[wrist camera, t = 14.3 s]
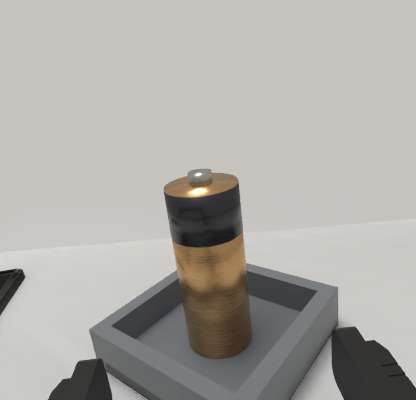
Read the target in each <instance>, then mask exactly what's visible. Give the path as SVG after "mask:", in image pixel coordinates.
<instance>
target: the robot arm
mask: <svg viewBox="0 0 416 400" xmlns="http://www.w3.org/2000/svg"><path fill="white" fill-rule="evenodd" d="M332 369H333V374H334V378H335V381H336V383H337V386H338V388H339V390H340V392H341V394H342V396H343V398H344V400H416V388H415V386H414V385H413V384H412V382H411V381H410V380H409V378H408V377H407V376H406V375H405V373H404V371H403V370H402V369H401V367H400V366H398V364H397V362H396V360H395V359H394V358H393V356H392V355H391V353H390V352H389V351H388V350H387V349H386V348H384V347H383V346H382V345H380V344H379V343H377V342H376V341H375V340H372V341H365V340H364V338H363V337H362V335H361V334H360V332H359V331H358V329H357V328H356V327H346V328H338V329H333V330H332ZM48 400H112V393H111V389H110V385H109V381H108V377H107V373H106V370H105V366H104V362H103V360H102V359H101V358H98V359H90V360H83V361H79V362H78V363H77V365H76V367H75V370H74V372H73V375H72V377H71V378H69V379H63V380H62V381H61V382H60V383H59V384H58V386H57V387H56V388H55V389H54V390H53V391H52V392H51V394H50V397H49V399H48Z"/></svg>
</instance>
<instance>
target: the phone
mask: <svg viewBox="0 0 416 400" xmlns="http://www.w3.org/2000/svg"><path fill="white" fill-rule="evenodd" d="M24 278H25V276H24V273H23V270H22V269H12V270H6V271H0V314H1V313H2V311H3V310H4V308H5V307H6V305H7V304H8V302H9V301H10V299H11V298H12V296H13V295H14V293H15V292H16V290H17V289H18V287H19V286H20V284H21V283H22V281H23V280H24Z"/></svg>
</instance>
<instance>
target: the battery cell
mask: <svg viewBox="0 0 416 400" xmlns="http://www.w3.org/2000/svg"><path fill="white" fill-rule="evenodd" d="M164 195H165V201H166V207H167V213H168V219H169V225H170V231H171V237H172V242H173V248H174V254H175V260H176V266H177V272H178V278H179V284H180V290H181V296H182V302H183V308H184V314H185V321H186V327H187V333H188V339H189V344H190V347H191V348H192V350H193V351H194V352H195V353H197V354H198V355H200V356H202V357H205V358H209V359H226V358H230V357H233V356H236V355H238V354H240V353H241V352H243V351H244V350H245V349H246V348H247V347H248V346H249V344H250V343H251V340H252V324H251V313H250V303H249V292H248V281H247V271H246V260H245V250H244V239H243V225H242V216H241V206H240V205H241V204H240V193H239V183H238V179H237V177H235V176H233V175H230V174H224V173H211V170H210V169H197V170H192V171H190V172H188V176H187V177H183V178H179V179H176V180H174V181H172V182H170V183H168V184H167V185H166V186H165V187H164Z"/></svg>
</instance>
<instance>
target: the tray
mask: <svg viewBox="0 0 416 400" xmlns="http://www.w3.org/2000/svg"><path fill="white" fill-rule="evenodd" d="M246 271H247V281H248V292H249V303H250V313H251V324H252V340H251V343H250V344H249V346H248V347H247V348H246V349H245V350H244V351H243V352H241V353H240V354H238V355H236V356H233V357H230V358H226V359H209V358H205V357H202V356H200V355H198V354H197V353H195V352H194V351H193V350H192V348H191V347H190V344H189V339H188V333H187V327H186V321H185V314H184V308H183V302H182V296H181V290H180V284H179V278H178V272H177V270H176V271H175V272H173V273H172V274H170V275H169V276H167V277H166V278H164V279H163V280H162V281H160V282H159V283H157V284H156V285H154V286H153V287H151V288H150V289H148V290H147V291H145V292H144V293H142V294H141V295H139V296H138V297H136V298H135V299H133V300H132V301H130V302H129V303H128V304H126V305H125V306H123V307H122V308H120V309H119V310H117V311H116V312H114V313H113V314H111V315H110V316H108V317H107V318H105V319H104V320H102V321H101V322H99V323H98V324H97V325H95V326H94V327H92V328H91V329H89V331H90V335H91V339H92V342H93V346H94V350H95V353H96V357H97V359H98V358H101V359H102V360H103V362H104V366H105V370H106V371H107V372H109V373H110V374H112V375H113V376H115V377H116V378H118V379H119V380H121V381H122V382H124V383H125V384H126V385H128V386H129V387H131V388H132V389H134V390H135V391H137V392H138V393H140V394H141V395H143V396H144V397H146V398H147V399H149V400H289V399H290V398H291V396H292V395H293V393H294V392H295V390H296V388H297V387H298V385H299V384H300V382H301V381H302V379H303V377H304V376H305V374H306V373H307V371H308V370H309V368H310V367H311V365H312V363H313V362H314V360H315V359H316V357H317V356H318V354H319V352H320V351H321V349H322V348H323V346H324V345H325V343H326V342H327V340H328V338H329V337H330V335H331V334H332V330H333V329H335V327H336V326H337V324H338V287H334V286H330V285H327V284H323V283H319V282H315V281H312V280H308V279H304V278H300V277H297V276H293V275H289V274H285V273H281V272H278V271H274V270H270V269H266V268H263V267H259V266H255V265H251V264H248V263H246Z"/></svg>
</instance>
